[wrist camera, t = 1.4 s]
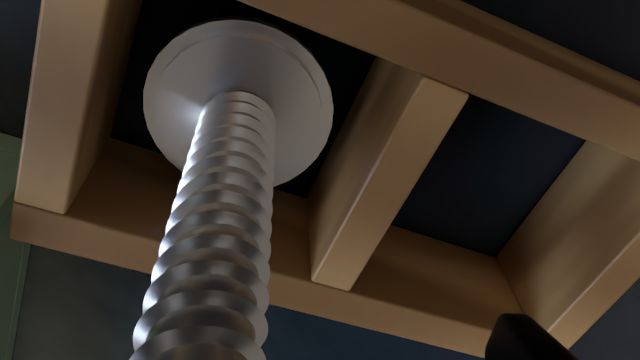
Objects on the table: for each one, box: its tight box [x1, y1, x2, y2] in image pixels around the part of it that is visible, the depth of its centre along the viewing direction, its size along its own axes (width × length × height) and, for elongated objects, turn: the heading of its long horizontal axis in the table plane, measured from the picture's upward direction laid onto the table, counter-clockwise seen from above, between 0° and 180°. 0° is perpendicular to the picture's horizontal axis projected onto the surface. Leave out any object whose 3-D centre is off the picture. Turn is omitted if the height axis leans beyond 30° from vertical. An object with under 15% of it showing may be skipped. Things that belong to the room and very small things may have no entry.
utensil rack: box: [9, 0, 640, 358], centre depth 15 cm, size 9×16×4 cm, turn 67°
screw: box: [129, 16, 334, 360], centre depth 10 cm, size 13×5×5 cm
